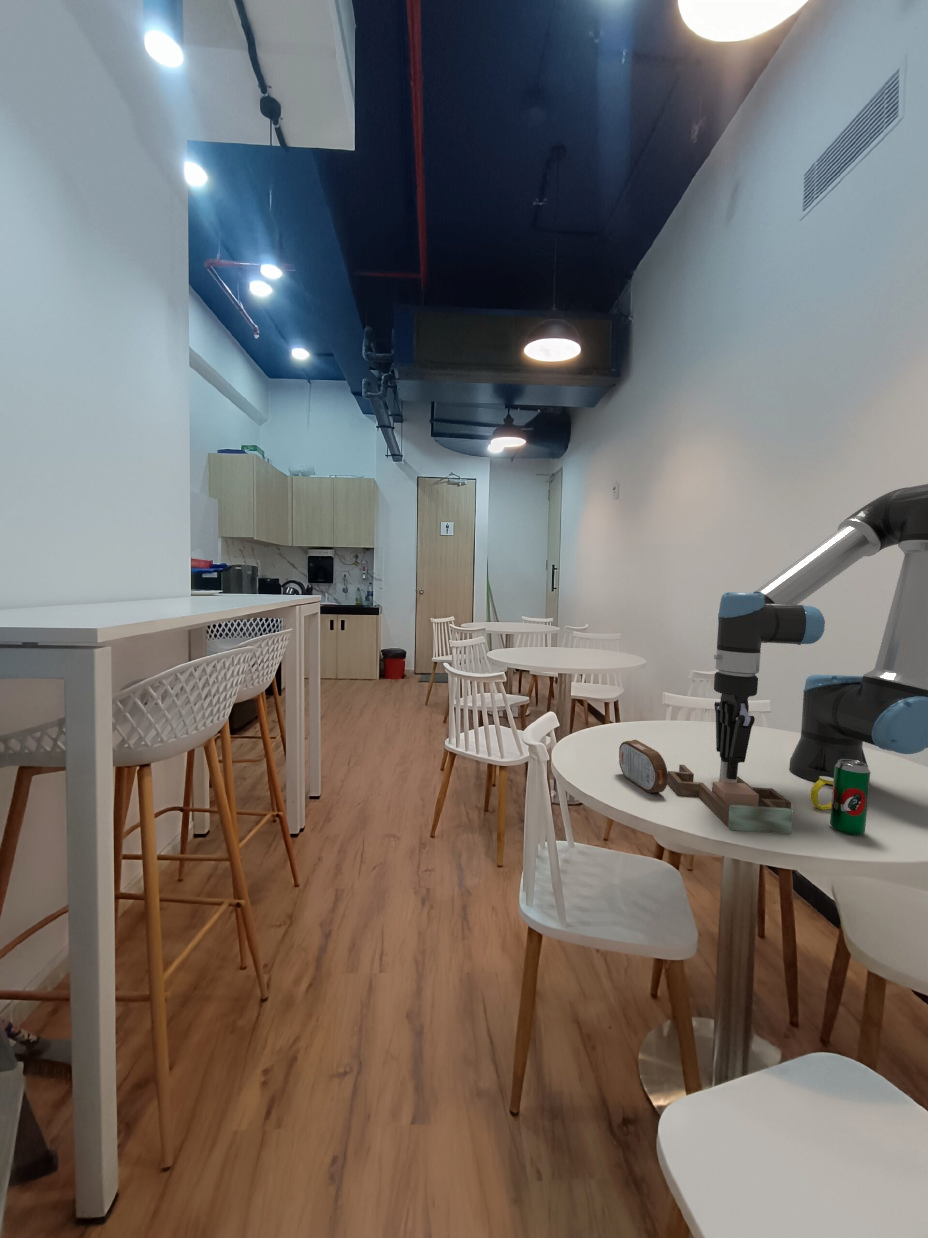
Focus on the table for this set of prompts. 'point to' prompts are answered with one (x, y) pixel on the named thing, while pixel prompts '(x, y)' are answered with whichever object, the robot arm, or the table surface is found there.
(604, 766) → the table surface
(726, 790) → the block
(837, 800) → the soda can
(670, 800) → the table surface
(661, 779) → the tin
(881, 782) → the table surface
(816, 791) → the watch
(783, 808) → the box
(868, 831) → the table surface
